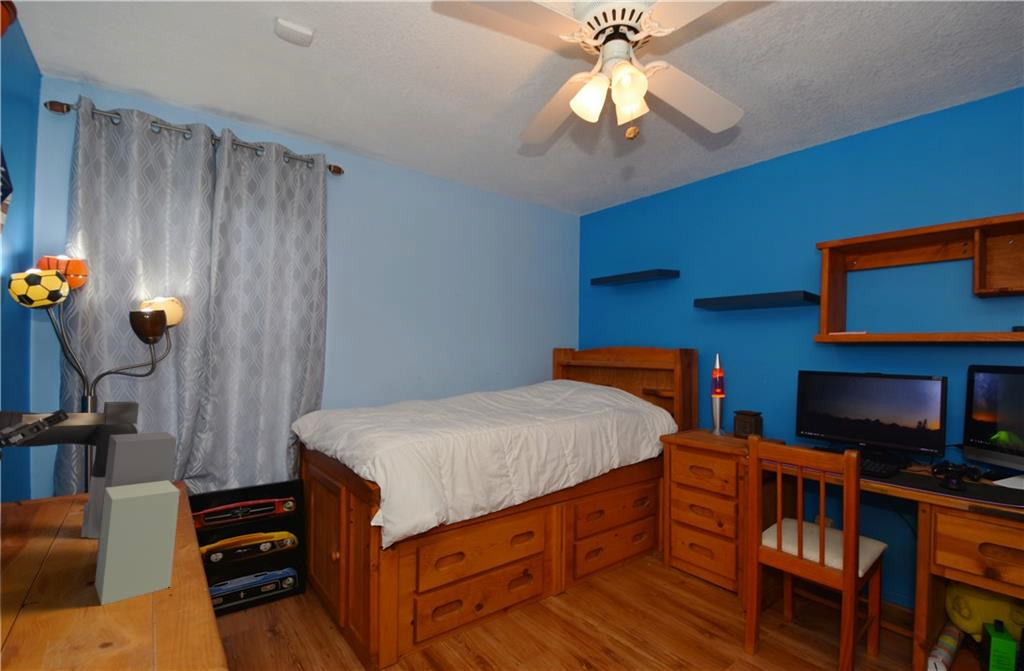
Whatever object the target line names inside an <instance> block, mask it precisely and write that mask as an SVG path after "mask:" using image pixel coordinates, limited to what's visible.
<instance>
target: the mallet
mask: <svg viewBox="0 0 1024 671" xmlns="http://www.w3.org/2000/svg"><path fill="white" fill-rule="evenodd" d="M139 404H140V403H138V402H136V401H104V405H103V412H82V413H81V412H78V413H77V412H76V413H75V412H74V413H73V412H72V413H71V412H69V413H66V414H67V415H68V417H69V418H68V419H67V420H64V421H62V422H60V423H57V424H55V425H53V426H69V425H94V424H105V425H113V424H133V425H135V424H137V423H138V415H139V406H140V405H139ZM51 415H53V414H51V413H40V414H30V415H23V417H22V424H25V423H33V422H35V421H38V420H39V419H43V420H44V418H46V417H48V416H51ZM33 427H34V426H33Z"/></svg>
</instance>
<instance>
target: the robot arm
mask: <svg viewBox="0 0 1024 671" xmlns="http://www.w3.org/2000/svg"><path fill="white" fill-rule="evenodd" d="M30 414H41V413H37V412H30V411H28V412H27V411H17V410H0V461H2V460H3V459H4V453H3V452H2V450H1V449H4V448H6V447H9V448H10V447H11V448H34V447H36V448H37V447H45V446H46V447H47V446H54V445H55V446H57V445H71V444H72V445H83V446H92V447H95V454H94V461H93V465H92V467H91V472H90V473H91V474H90V475H91V476H90V484H89V492H88V493H89V494H88V501H86V502H85V503H84V505H83V514H82V523H81V530H80V532H81V533H80V538H87V539H99V531H100V522H101V513H102V503H103V494H104V484H105V475H106V466H107V456H108V447H109V438H110V435H123V434H139V433H138V429H137V427H136V426H135V424H113V425H105V424H94V425H69V426H53V425H55V424H57V423H60V422H62V421H64V420H67V419H68V418H69V417H68V415H67V414H68V413H67V412H66V411H65V410H64V409H59V410H55V411H53V412H51V413H50V414H53V415H51V416H48V417H46V418H44V420H43V419H39V420H38V421H35V422H33V423H25V424H22V417H23V415H30ZM33 426H34V427H33Z"/></svg>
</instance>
